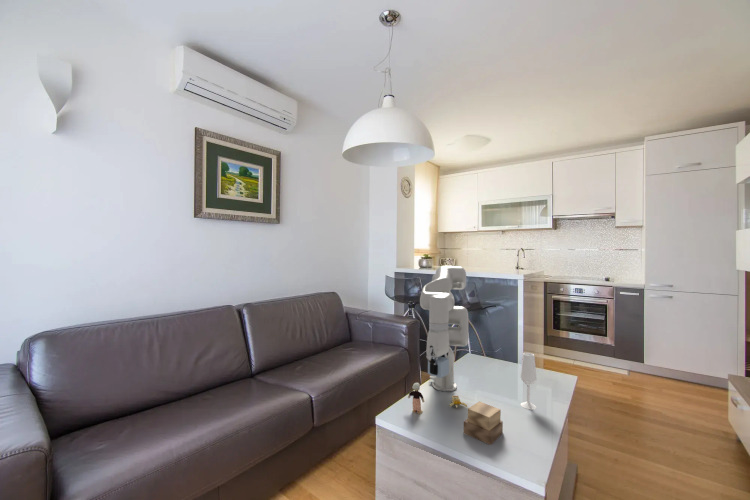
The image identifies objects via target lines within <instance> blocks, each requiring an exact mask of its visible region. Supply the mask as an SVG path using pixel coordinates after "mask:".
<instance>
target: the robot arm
mask: <svg viewBox="0 0 750 500" xmlns="http://www.w3.org/2000/svg"><path fill="white" fill-rule="evenodd" d="M466 287H467V271H466V270H465V268H464V267H462V266H459V265H458V266H457V265H455V266H454V265H442V266H439V267H438V268H437V269H436V271H435V273H434V274H432V277H431V281H430V282H428V283H426V284H425V285H424V286H423V287H422V290H421V293H420V298H419V305H420V307H421V308H422V309H423V310H426V311H427V310H428V311H429V313H428V314H429V315H428V316H429V317H428V319H429V320H428V321H429V322H428V323H429V324H428V325H429V327H428V329H429V330H428V333H427V337H426V357H425V358H426V359H427V362H428V361H429V363H430V373H431V374H434V375H437V374H438V365H437V360H438V357H440V356H441V357H444V358H448V359H449V374H448V375H446V376H444V377H442V378H439V377H436V376H433V375H430V374H429V379H430V380H433V381H432V383H431V384H432V388H434V389H436V390H438V391H441V392H453V391H456V389H458V388H457V386H458V385H457V383H455V376H454V375H455V353H454V351H453V349H452V348H451V346H453V347H467V346H468V343H469V311H468V309H467V308H466V307H465V306H461V305H460V306H459V305H455V298H454V297H455V296H454V294H453V293H452V292H451V291H452V290H457V291H459V290H464V289H465V288H466ZM449 325H457V326H449ZM458 326H459V327H458ZM433 357H434V358H435V360H433Z"/></svg>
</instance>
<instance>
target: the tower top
mask: <svg viewBox="0 0 750 500" xmlns="http://www.w3.org/2000/svg"><path fill="white" fill-rule="evenodd" d="M501 413H502V412H501V409H500V408H497V407H495V406H494V405H493V406H492V405H490V404H487V403H484V402H482V401H478V402H476V403H475V404H473V405H471V406H470V407H468V408H467V418H468V422H470V423H473V424H475V425H477V426H479V427H482V428H484V429H486V430H488V431H490V430H491V429H492V428H494V427H495V426H496V425H498V424H499V423H500V420H501V415H502V414H501Z"/></svg>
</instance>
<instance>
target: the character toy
mask: <svg viewBox="0 0 750 500" xmlns="http://www.w3.org/2000/svg"><path fill="white" fill-rule="evenodd" d="M451 398H452V401H451V403H449V407H451V408H452V406H455V407H456V408H458V406H460V405H461V406H465V407H468V404H466V403H464V402H462V401H461V399H460V397H459V395H452V396H451Z"/></svg>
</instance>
